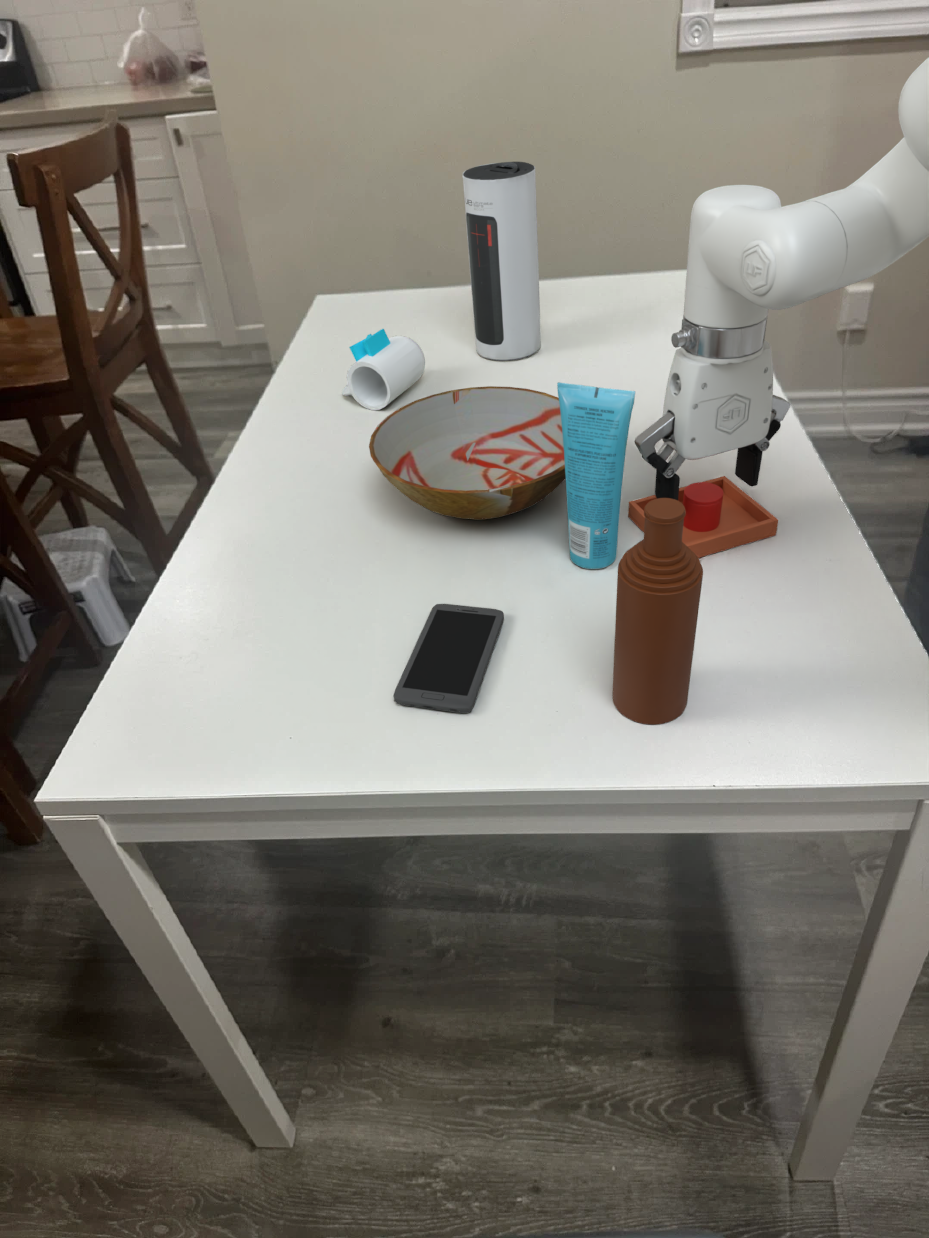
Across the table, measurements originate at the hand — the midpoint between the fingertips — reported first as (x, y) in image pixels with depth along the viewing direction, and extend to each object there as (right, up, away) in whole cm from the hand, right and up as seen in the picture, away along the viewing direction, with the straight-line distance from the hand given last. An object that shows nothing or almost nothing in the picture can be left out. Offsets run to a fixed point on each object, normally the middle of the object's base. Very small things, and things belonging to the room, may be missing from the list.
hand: (706, 492), depth 92 cm
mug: (-38, +20, +36) cm, 56 cm away
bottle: (-10, -20, -16) cm, 28 cm away
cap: (0, -3, +3) cm, 4 cm away
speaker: (-19, +29, +45) cm, 57 cm away
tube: (-12, -7, 0) cm, 14 cm away
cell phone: (-27, -17, -10) cm, 34 cm away
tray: (0, -3, +3) cm, 5 cm away
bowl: (-23, +1, +12) cm, 26 cm away
